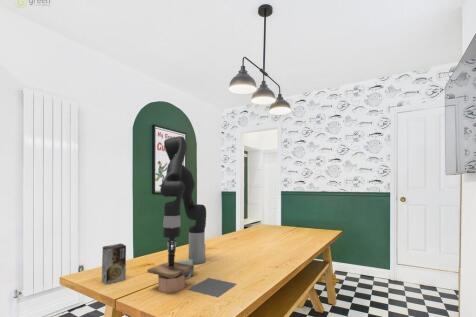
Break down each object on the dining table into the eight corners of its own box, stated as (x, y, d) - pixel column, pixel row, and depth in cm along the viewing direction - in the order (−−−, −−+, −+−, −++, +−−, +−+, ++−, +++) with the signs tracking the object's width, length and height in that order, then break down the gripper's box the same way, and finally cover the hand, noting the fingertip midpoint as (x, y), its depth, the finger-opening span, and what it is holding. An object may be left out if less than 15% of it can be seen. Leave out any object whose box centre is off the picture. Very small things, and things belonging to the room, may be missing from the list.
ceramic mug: (177, 273, 137) (177, 258, 137) (193, 273, 138) (193, 257, 138) (175, 281, 127) (175, 265, 127) (192, 281, 127) (192, 264, 128)
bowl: (170, 281, 126) (170, 268, 126) (189, 286, 121) (189, 272, 121) (152, 290, 116) (153, 276, 117) (171, 295, 111) (172, 280, 111)
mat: (208, 279, 129) (208, 277, 129) (237, 285, 122) (237, 283, 122) (186, 291, 115) (186, 289, 115) (218, 298, 108) (218, 297, 108)
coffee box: (120, 276, 134) (121, 243, 135) (125, 279, 129) (126, 245, 130) (100, 281, 127) (102, 246, 129) (105, 284, 123) (107, 248, 124)
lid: (170, 263, 129) (170, 248, 129) (193, 268, 122) (193, 252, 122) (147, 272, 116) (147, 255, 117) (171, 278, 110) (172, 259, 110)
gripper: (163, 223, 126) (162, 261, 125) (163, 228, 113) (162, 271, 112) (179, 222, 128) (178, 260, 127) (181, 227, 115) (180, 269, 114)
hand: (171, 264), depth 119 cm, fingers closed on lid, 2 cm apart
